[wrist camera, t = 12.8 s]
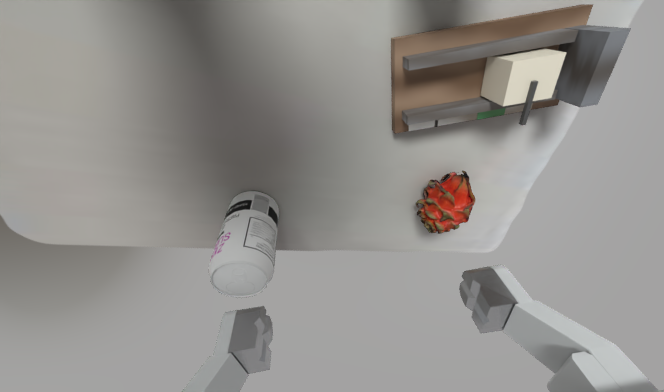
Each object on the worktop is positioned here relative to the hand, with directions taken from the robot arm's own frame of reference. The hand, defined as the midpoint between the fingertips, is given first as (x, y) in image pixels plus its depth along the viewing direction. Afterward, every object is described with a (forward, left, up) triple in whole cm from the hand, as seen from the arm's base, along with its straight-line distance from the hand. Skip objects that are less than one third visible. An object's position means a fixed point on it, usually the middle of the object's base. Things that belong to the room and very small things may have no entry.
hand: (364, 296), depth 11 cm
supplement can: (+17, -14, -31) cm, 38 cm away
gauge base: (+1, +22, -31) cm, 38 cm away
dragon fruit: (+20, +18, -31) cm, 41 cm away
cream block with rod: (+2, +25, -29) cm, 39 cm away
